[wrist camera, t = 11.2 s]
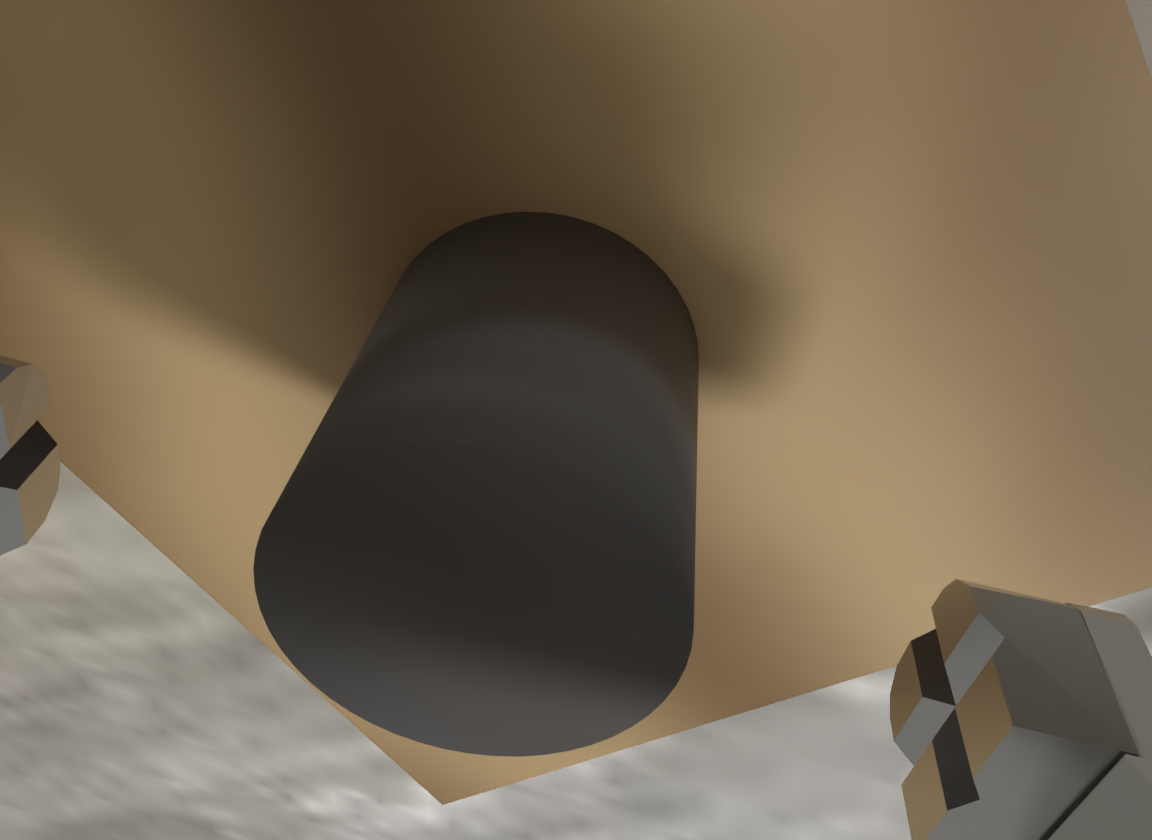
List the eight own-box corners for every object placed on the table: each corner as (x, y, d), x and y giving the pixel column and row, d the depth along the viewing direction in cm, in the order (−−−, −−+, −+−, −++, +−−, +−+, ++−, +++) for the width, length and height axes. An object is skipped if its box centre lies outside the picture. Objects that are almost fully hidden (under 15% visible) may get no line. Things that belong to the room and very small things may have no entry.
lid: (804, -837, 7) (951, -1700, 3) (1267, 485, 12) (1539, 860, 8) (-197, 139, 12) (-671, 360, 8) (454, 754, 17) (377, 1066, 13)
